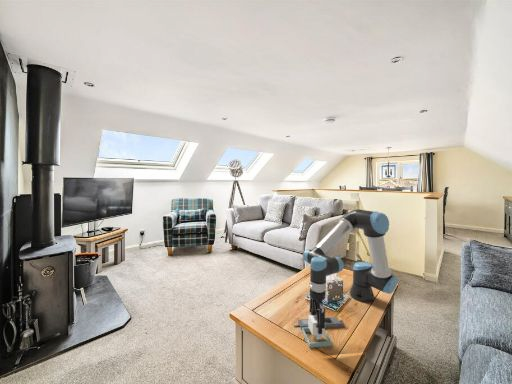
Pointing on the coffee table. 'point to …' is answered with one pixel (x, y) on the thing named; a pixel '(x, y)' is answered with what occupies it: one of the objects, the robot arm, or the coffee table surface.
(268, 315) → the coffee table surface
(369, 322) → the coffee table surface
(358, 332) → the coffee table surface
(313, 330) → the charger
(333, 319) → the power strip
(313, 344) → the teal square frame
